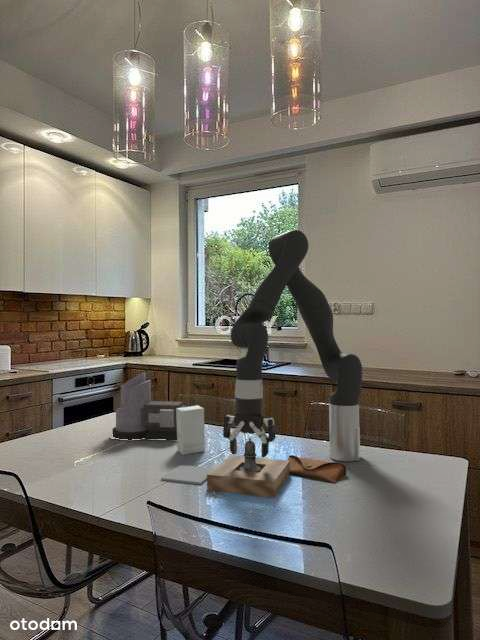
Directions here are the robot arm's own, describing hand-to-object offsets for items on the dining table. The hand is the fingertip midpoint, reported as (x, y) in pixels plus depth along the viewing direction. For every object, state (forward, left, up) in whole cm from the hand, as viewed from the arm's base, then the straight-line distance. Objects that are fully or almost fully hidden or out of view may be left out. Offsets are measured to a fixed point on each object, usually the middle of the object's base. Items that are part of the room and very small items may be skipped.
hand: (249, 455), depth 126 cm
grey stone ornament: (0, 0, -8) cm, 8 cm away
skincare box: (+28, -22, -8) cm, 36 cm away
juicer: (+52, -36, -8) cm, 64 cm away
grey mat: (+18, 0, -7) cm, 19 cm away
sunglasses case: (-15, -12, -8) cm, 21 cm away
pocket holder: (0, 0, -7) cm, 7 cm away
